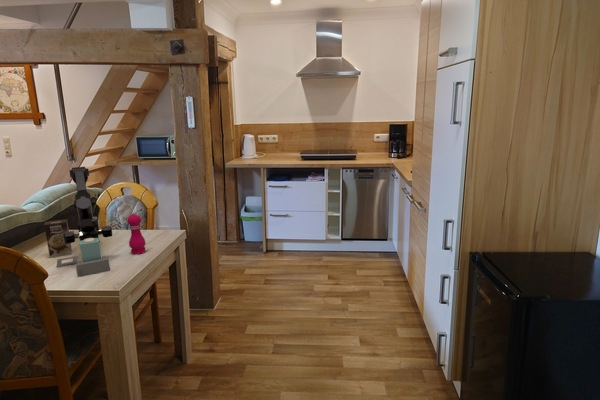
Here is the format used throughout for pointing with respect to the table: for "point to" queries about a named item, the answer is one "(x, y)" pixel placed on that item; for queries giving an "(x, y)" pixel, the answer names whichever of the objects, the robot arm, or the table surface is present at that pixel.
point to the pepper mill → (136, 234)
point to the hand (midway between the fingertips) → (91, 251)
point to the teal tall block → (90, 249)
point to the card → (67, 261)
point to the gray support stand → (92, 267)
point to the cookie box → (57, 238)
